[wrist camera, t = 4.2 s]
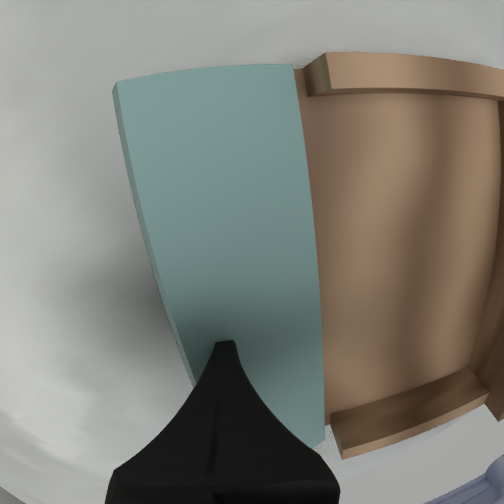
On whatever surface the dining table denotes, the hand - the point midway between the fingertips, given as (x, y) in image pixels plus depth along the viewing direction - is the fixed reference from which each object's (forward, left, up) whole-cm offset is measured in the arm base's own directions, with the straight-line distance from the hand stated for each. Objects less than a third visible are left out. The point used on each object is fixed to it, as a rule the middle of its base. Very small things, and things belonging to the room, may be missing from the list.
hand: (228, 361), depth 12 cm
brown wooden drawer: (-10, 0, -5) cm, 11 cm away
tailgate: (-4, 0, -3) cm, 5 cm away
